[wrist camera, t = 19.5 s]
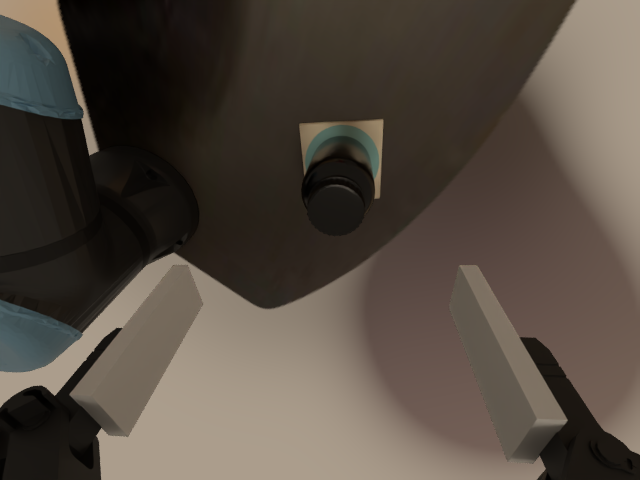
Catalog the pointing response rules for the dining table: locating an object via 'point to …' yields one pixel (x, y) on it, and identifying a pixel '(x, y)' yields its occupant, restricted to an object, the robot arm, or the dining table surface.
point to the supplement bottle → (338, 186)
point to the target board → (360, 130)
